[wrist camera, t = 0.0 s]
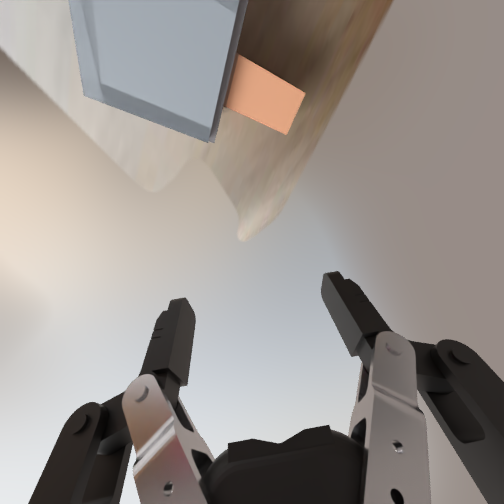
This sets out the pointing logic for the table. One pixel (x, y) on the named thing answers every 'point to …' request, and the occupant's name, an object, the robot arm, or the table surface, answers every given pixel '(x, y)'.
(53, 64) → the table surface
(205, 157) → the table surface
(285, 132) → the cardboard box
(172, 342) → the robot arm
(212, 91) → the block
